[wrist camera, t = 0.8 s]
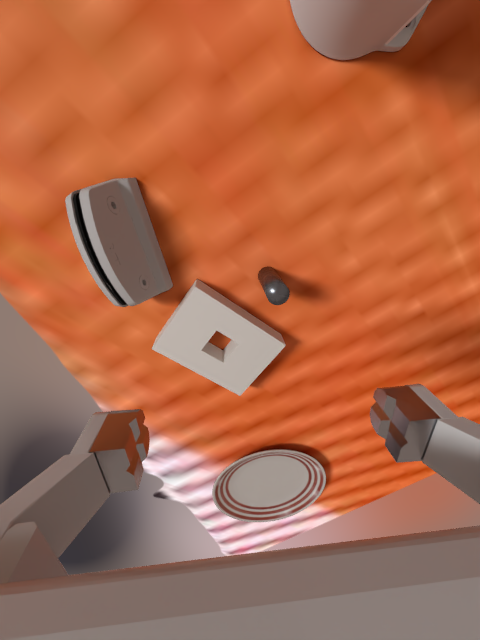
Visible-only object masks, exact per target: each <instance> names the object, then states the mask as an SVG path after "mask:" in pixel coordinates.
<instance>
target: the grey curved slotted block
mask: <svg viewBox="0 0 480 640" xmlns="http://www.w3.org/2000/svg"><path fill="white" fill-rule="evenodd" d="M65 202H66V207H67V213H68V217H69V221H70V225H71V229H72V232H73V235H74V238H75V241H76V244H77V246H78V249H79V251H80V253H81V256H82V258H83V260H84V262H85V264H86V266H87V268H88V270H89V271H90V273H91V275H92V277H93V278H94V280H95V281H96V283H97V284H98V286H99V287H100V289H101V290H102V291H103V293H104V294H105V295H106V296H107V298H108V299H109V300H110V301H111V302H112V303H113V304H114V305H116V306H121V307H126V306H128V305H129V306H134V305H137V304H140V303H142V302H144V301H146V300H148V299H150V298H152V297H154V296H156V295H158V294H160V293H162V292H165V291H167V290H169V289H170V288H172V287H173V284H172V281H171V278H170V275H169V272H168V269H167V266H166V264H165V261H164V258H163V255H162V252H161V249H160V246H159V243H158V241H157V238H156V235H155V232H154V229H153V226H152V223H151V220H150V218H149V215H148V212H147V209H146V206H145V203H144V200H143V197H142V195H141V192H140V189H139V186H138V183H137V180H136V178H121V179H112V180H109V181H105V182H102V183H99V184H96V185H93V186H90V187H86V188H83V189H80V190H77V191H74V192H72V193H71V194H70V195H68V196H67V197H66V201H65Z"/></svg>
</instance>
